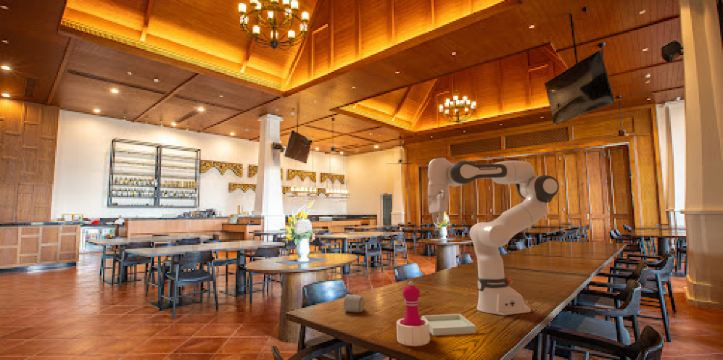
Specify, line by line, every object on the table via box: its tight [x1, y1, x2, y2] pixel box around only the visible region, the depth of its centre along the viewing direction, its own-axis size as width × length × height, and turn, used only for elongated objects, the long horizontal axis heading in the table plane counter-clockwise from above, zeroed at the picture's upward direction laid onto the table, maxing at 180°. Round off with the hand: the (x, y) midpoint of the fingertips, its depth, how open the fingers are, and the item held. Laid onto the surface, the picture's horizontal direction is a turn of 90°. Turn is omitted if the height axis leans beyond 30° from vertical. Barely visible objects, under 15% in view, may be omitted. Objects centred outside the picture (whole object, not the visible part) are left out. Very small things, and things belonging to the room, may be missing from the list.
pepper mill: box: [402, 280, 423, 326], centre depth 120 cm, size 7×7×20 cm
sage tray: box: [421, 313, 477, 337], centre depth 132 cm, size 16×16×2 cm
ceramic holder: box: [396, 317, 431, 347], centre depth 119 cm, size 11×11×6 cm
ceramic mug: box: [343, 293, 365, 313], centre depth 159 cm, size 11×8×8 cm
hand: (437, 222), depth 155 cm, fingers open, 8 cm apart
